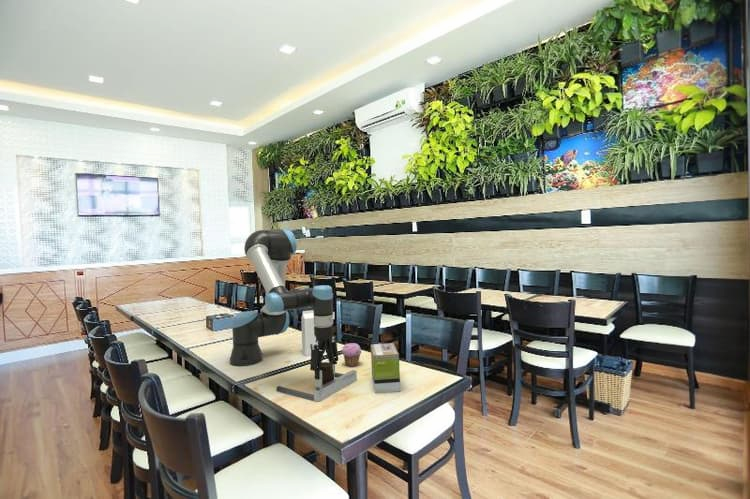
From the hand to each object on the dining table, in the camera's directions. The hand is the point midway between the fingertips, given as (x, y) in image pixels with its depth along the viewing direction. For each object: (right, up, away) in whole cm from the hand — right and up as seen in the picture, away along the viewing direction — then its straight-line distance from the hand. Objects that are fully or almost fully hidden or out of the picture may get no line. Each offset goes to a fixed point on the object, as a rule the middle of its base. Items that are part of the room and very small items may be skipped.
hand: (325, 383), depth 154 cm
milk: (-14, -1, +45) cm, 47 cm away
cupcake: (+9, -1, +26) cm, 28 cm away
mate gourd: (0, 0, 0) cm, 0 cm away
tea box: (+23, -1, +1) cm, 24 cm away
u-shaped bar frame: (-3, -1, +2) cm, 4 cm away
